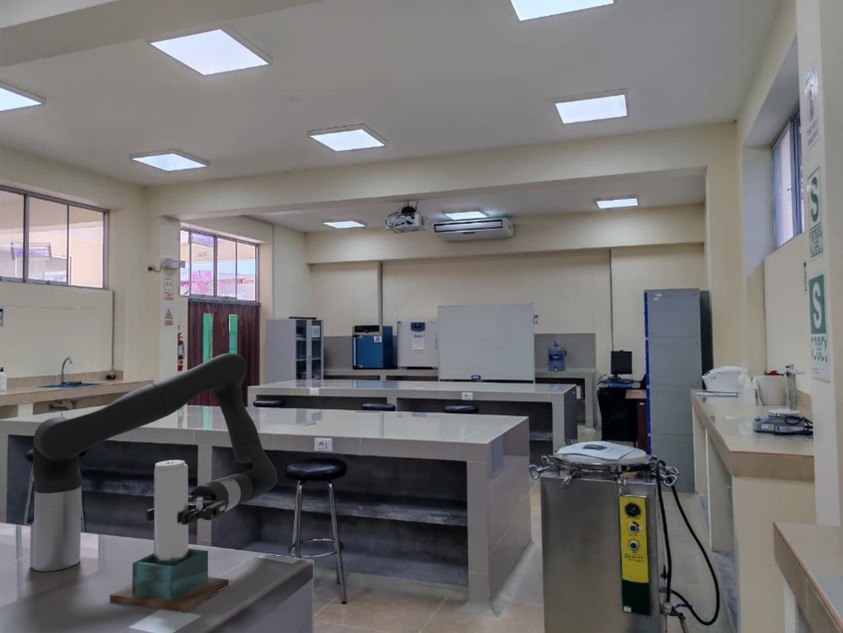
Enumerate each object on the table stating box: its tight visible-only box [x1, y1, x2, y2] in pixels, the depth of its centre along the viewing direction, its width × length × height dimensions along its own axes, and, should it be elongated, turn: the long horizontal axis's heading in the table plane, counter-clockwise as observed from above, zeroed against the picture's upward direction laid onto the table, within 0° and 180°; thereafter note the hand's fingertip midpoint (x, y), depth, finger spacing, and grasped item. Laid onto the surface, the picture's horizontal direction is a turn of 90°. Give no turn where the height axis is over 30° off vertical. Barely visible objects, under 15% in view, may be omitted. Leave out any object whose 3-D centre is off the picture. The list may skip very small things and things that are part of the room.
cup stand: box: [109, 548, 230, 613], centre depth 120 cm, size 18×13×7 cm
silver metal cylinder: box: [153, 459, 189, 566], centre depth 121 cm, size 6×6×25 cm
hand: (165, 517), depth 119 cm, fingers open, 8 cm apart
